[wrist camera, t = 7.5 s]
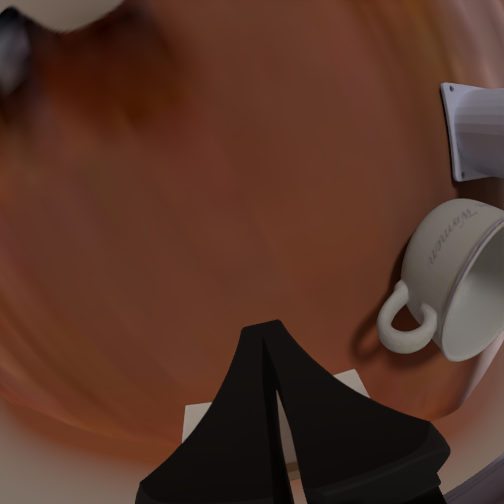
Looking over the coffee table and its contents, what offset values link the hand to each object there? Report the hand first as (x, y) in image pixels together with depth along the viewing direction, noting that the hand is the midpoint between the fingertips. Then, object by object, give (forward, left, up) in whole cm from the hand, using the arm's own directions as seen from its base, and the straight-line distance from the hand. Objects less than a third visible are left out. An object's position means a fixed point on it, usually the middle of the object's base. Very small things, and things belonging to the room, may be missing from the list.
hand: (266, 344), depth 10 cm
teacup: (-14, +4, -10) cm, 17 cm away
